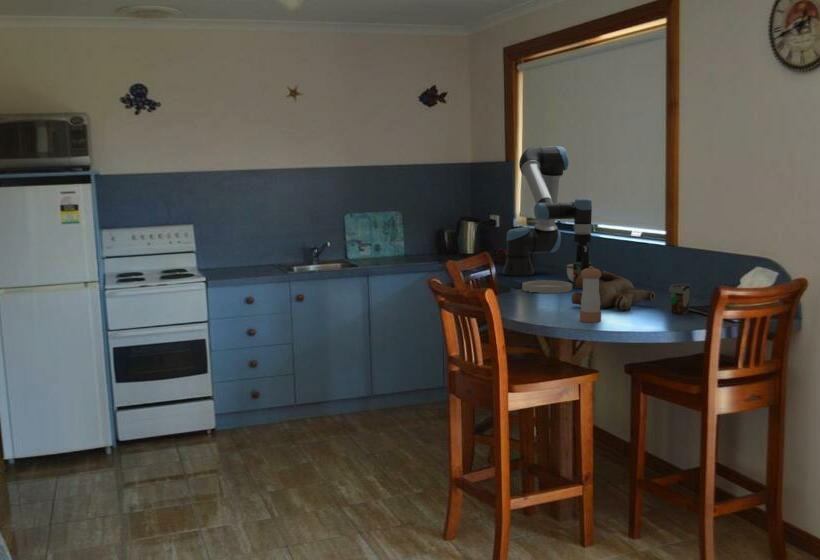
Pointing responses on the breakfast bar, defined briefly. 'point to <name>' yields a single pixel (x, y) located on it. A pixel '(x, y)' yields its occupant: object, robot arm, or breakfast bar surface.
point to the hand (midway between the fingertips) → (581, 283)
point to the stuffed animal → (615, 292)
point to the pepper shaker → (590, 296)
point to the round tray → (547, 286)
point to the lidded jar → (570, 271)
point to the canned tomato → (577, 271)
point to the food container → (680, 298)
